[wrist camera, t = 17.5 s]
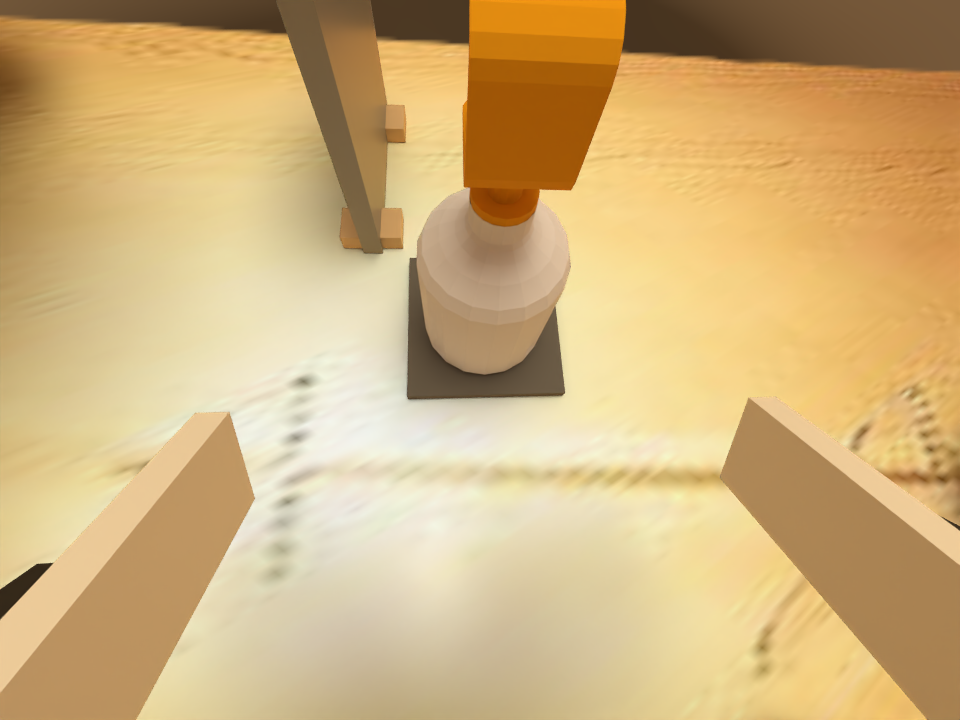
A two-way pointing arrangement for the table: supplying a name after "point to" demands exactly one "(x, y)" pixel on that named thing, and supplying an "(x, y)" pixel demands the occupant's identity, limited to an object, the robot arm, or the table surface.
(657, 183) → the table surface
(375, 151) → the divider
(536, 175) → the soap bottle
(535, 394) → the coaster
